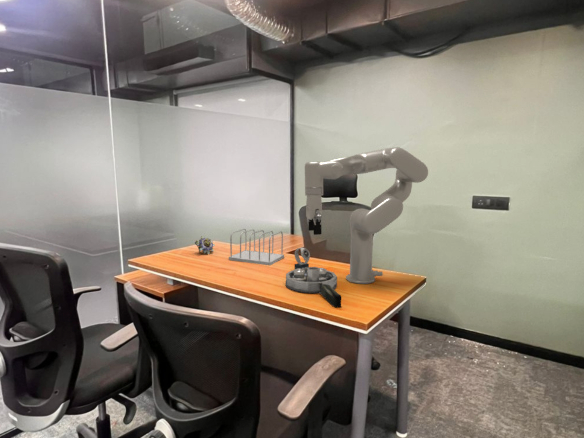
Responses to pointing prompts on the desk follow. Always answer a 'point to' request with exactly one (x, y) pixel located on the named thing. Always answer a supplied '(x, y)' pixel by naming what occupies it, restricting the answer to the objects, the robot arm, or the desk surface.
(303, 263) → the watch
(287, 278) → the ring gear
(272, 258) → the file sorter
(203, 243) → the passion flower
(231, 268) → the desk surface
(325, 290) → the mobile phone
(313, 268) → the grey hollow tube
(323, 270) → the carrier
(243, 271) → the desk surface
